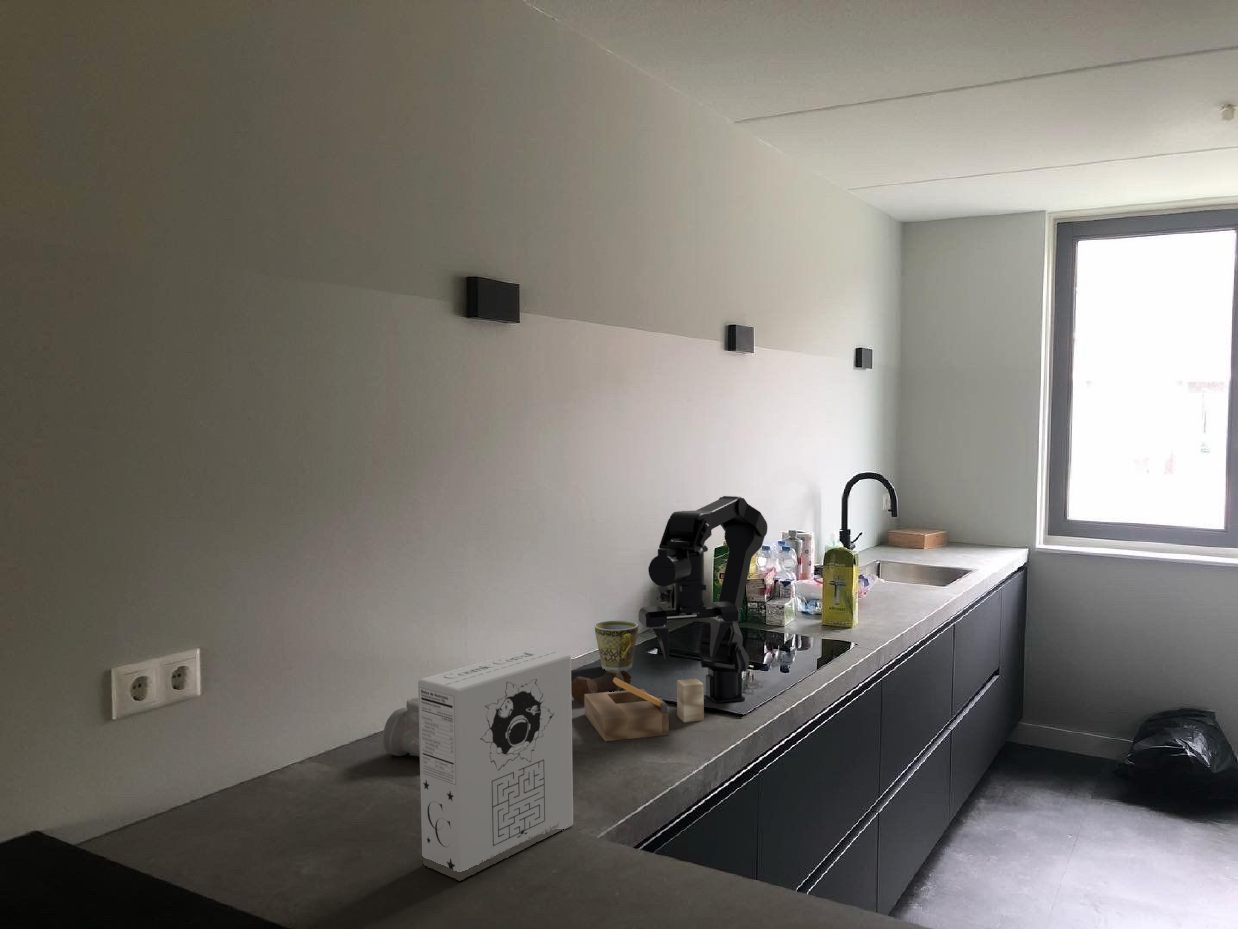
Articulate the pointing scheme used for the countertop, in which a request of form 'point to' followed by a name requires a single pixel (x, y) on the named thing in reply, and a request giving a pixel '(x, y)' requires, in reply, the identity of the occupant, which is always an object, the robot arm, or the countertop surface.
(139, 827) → the countertop surface
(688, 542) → the robot arm
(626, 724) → the block
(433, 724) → the cereal box
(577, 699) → the bolt
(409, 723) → the pipe fitting
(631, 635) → the ceramic cup
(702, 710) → the peg
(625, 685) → the gate
